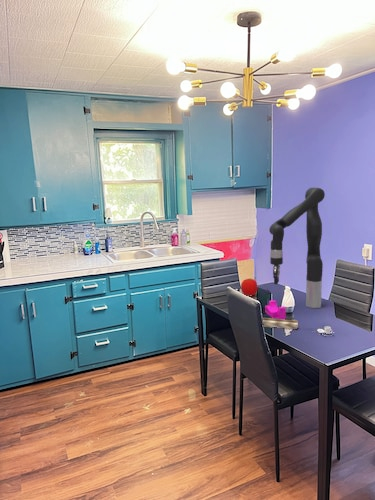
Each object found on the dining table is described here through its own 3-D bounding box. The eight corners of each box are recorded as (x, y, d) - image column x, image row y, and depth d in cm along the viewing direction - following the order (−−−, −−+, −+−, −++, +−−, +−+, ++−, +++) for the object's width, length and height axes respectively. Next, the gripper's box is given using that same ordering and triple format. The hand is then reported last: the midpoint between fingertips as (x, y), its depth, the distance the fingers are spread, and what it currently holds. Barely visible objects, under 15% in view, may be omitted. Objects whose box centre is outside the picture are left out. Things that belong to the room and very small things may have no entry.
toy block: (265, 312, 232) (265, 301, 231) (274, 311, 234) (274, 299, 232) (275, 321, 218) (275, 309, 216) (285, 319, 219) (285, 307, 218)
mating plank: (297, 327, 207) (297, 320, 207) (297, 329, 204) (297, 323, 203) (261, 323, 214) (261, 317, 214) (260, 326, 211) (260, 320, 210)
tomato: (261, 296, 264) (261, 278, 261) (248, 299, 258) (248, 281, 255) (249, 291, 274) (249, 275, 272) (237, 295, 268) (237, 278, 266)
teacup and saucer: (315, 332, 200) (315, 325, 199) (326, 330, 203) (327, 323, 202) (326, 338, 192) (326, 331, 191) (338, 336, 195) (338, 328, 194)
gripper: (281, 259, 223) (281, 286, 226) (284, 254, 236) (283, 280, 239) (268, 258, 225) (268, 285, 228) (272, 253, 238) (272, 279, 242)
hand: (276, 282), depth 234 cm, fingers open, 4 cm apart
